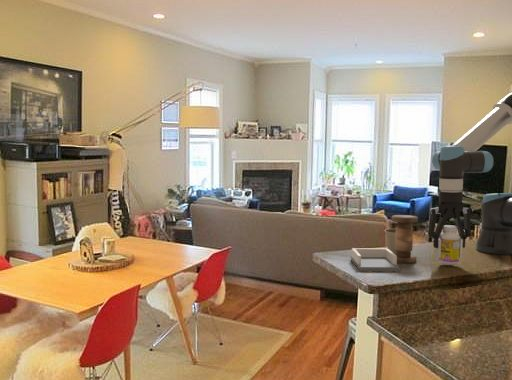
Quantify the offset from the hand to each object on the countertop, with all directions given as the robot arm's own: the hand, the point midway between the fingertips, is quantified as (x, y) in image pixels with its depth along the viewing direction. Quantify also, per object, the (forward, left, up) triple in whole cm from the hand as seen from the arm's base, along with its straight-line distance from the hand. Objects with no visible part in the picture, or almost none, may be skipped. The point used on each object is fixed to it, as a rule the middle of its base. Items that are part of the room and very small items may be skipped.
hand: (448, 256), depth 167 cm
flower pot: (+12, -21, -3) cm, 25 cm away
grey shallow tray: (+26, 0, -3) cm, 26 cm away
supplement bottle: (0, 0, -2) cm, 2 cm away
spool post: (+13, -8, -3) cm, 16 cm away
